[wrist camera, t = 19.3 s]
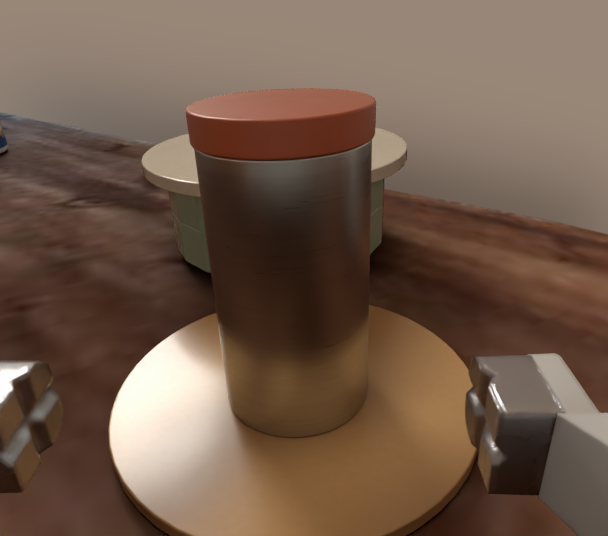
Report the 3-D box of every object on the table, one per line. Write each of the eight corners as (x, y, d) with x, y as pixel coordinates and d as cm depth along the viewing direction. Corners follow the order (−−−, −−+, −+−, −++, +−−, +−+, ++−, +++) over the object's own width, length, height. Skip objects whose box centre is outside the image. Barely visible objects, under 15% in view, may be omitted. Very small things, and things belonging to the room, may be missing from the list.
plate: (83, 180, 31) (80, 167, 31) (242, 125, 44) (241, 115, 44) (338, 219, 24) (338, 202, 23) (438, 139, 37) (439, 128, 37)
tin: (195, 410, 21) (143, 113, 15) (273, 333, 25) (254, 86, 20) (331, 462, 18) (322, 125, 13) (390, 366, 23) (402, 90, 17)
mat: (24, 459, 19) (20, 447, 19) (247, 285, 31) (246, 276, 31) (412, 668, 13) (413, 654, 12) (510, 347, 24) (512, 336, 24)
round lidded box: (135, 263, 34) (117, 176, 32) (253, 198, 45) (246, 129, 43) (326, 309, 28) (324, 205, 25) (409, 221, 39) (413, 142, 36)
